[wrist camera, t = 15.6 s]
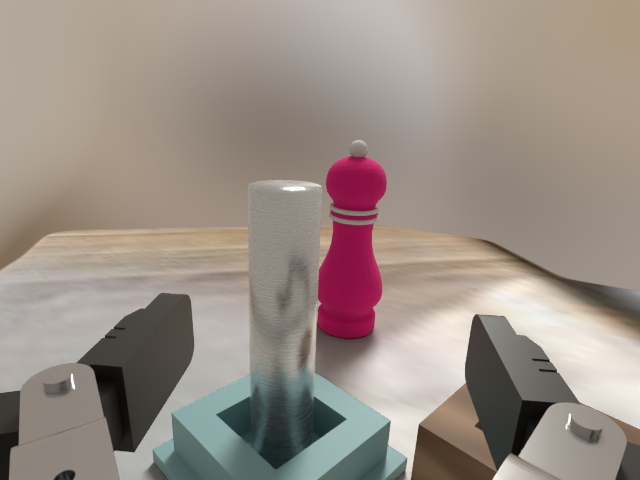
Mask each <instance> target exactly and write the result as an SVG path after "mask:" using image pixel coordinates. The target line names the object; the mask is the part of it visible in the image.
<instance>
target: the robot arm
mask: <svg viewBox="0 0 640 480" xmlns="http://www.w3.org/2000/svg"><path fill="white" fill-rule="evenodd" d="M193 351H194V335H193V322H192V309H191V300H190V297H189V296H188V295H185V294H169V293H161V294H159V295H158V296H157V297H156V298H155V299H154V300H153V301H152V302H151V303H150V304H149V305H148V306H147V307H146V308H145V309H139V310H137V311H135V312H133V313H131V314H129V315H127V316H125V317H124V318H123V319H122V320H121V321H120V322H119V323H118V324H117V325H116V326H115V327H114V329H111V330H110V331H109V332H108V333H107V334H106V335H105V338H102V339H101V340H100V341H99V342H98V343H97V344H96V345H95V346H94V347H93V348H92V349H90V350H89V351H88V352H87V353H86V354H85V355H84V356H83V357H82V358H81V359H80V360H79V361H78V362H77V363H69V364H62V365H58V366H54V367H51V368H48V369H46V370H43V371H41V372H39V373H37V374H36V375H34V376H33V377H31V378H30V379H29V380H28V381H27V382H25V384H24V385H23V386H22V388H21V391H14V392H6V393H0V480H120V478H119V474H118V469H117V465H116V460H115V456H114V451H115V450H116V451H127V452H135V450H136V449H137V447H138V445H139V444H140V442H141V441H142V439H143V438H144V436H145V434H146V433H147V431H148V430H149V428H150V426H151V425H152V423H153V422H154V420H155V418H156V417H157V415H158V414H159V412H160V410H161V409H162V407H163V406H164V404H165V403H166V401H167V399H168V398H169V396H170V395H171V393H172V391H173V390H174V388H175V387H176V385H177V383H178V382H179V380H180V379H181V377H182V375H183V374H184V372H185V371H186V369H187V368H188V366H189V364H190V362H191V359H192V356H193ZM465 379H466V385H467V388H468V391H469V394H470V397H471V400H472V402H473V405H474V408H475V411H476V414H477V416H478V419H479V422H480V425H481V428H482V431H483V433H484V436H485V439H486V442H487V445H488V447H489V450H490V453H491V456H492V459H493V461H494V464H495V467H496V470H497V473H496V475H495V476H494V478H493V479H492V480H640V446H639V445H636V444H633V443H630V442H628V441H627V439H626V436H625V434H624V432H623V431H622V429H621V428H620V427H619V426H618V425H617V424H616V423H615V422H614V421H613V420H612V419H610V418H609V417H607V416H606V415H604V414H602V413H601V412H599V411H597V410H594V409H592V408H589V407H587V406H584V405H581V404H580V403H579V401H578V400H577V398H576V397H575V395H574V394H573V393H572V391H571V390H570V388H569V387H568V385H567V384H566V383H565V381H564V380H563V378H562V377H561V375H560V374H559V373H557V370H556V368H555V367H554V365H553V364H552V363H551V362H550V361H549V358H548V357H547V355H546V354H545V353H544V351H543V350H542V348H541V347H540V346H539V345H537V344H536V343H534V342H533V341H532V340H530V339H529V338H528V337H526V336H522V335H516V333H515V331H514V330H513V328H512V327H511V325H510V324H509V322H508V320H507V319H506V318H505V317H504V316H493V315H478V314H476V315H475V316H474V318H473V321H472V326H471V332H470V338H469V345H468V351H467V357H466V364H465Z"/></svg>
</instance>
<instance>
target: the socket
mask: <svg viewBox="0 0 640 480" xmlns="http://www.w3.org/2000/svg"><path fill="white" fill-rule="evenodd" d="M390 422H391V420H389V419H387V418H386V417H384V416H383V415H381V414H380V413H378V412H376V411H375V410H373V409H372V408H370V407H369V406H367V405H365V404H364V403H362V402H361V401H359V400H358V399H356V398H354V397H353V396H351V395H350V394H348V393H347V392H345V391H344V390H342V389H340V388H339V387H337V386H336V385H334V384H333V383H331V382H329V381H328V380H326V379H325V378H323V377H322V376H320V375H318V374H317V373H315V382H314V408H313V434H312V445H310V446H309V447H308V448H306V449H305V450H303V451H302V452H301V453H299V454H298V455H296V456H295V457H294V458H292V459H291V460H289V461H288V462H287V463H285V464H284V465H282V466H281V467H280V468H278V469H277V470H275V469H274V468H273V467H272V466H271V465H270V464H269V463H268V462H267V461H266V460H264V459H263V458H262V457H261V456H260V455H259V454H258V453H257V452H256V451H255V450H254V449H253V448H251V404H250V375H248V376H246V377H244V378H242V379H239V380H237V381H235V382H233V383H231V384H229V385H227V386H225V387H223V388H221V389H219V390H217V391H215V392H213V393H211V394H209V395H207V396H205V397H203V398H201V399H199V400H197V401H195V402H193V403H191V404H189V405H187V406H185V407H183V408H181V409H179V410H177V411H175V412H172V426H173V439H172V440H170V441H168V442H166V443H164V444H162V445H160V446H159V447H157V448H155V449H153V459H154V463H155V464H156V465H157V466H158V468H159V469H160V470H161V471H162V473H163V474H164V475H165V476H166V478H167V479H168V480H396V479H397V478H398V477H399V476H400V475H401V474H402V473H403V472H404V471H405V470H406V463H407V458H406V457H405V456H404V455H402V454H401V453H399V452H398V451H396V450H395V449H393V448H392V447H390V446H389V445H388V439H389V431H390Z"/></svg>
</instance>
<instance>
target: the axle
mask: <svg viewBox="0 0 640 480" xmlns="http://www.w3.org/2000/svg"><path fill="white" fill-rule="evenodd" d="M321 199H322V187H321V186H320V185H318V184H315V183H310V182H304V181H293V180H268V181H259V182H254V183H251V184H249V185H248V236H249V320H250V404H251V448H253V449H254V450H255V451H256V452H257V453H258V454H259V455H260V456H261V457H262V458H263V459H264V460H266V461H267V462H268V463H269V464H270V465H271V466H272V467H273V468H274V469H275V470H277V469H278V468H280V467H281V466H282V465H284V464H285V463H287V462H288V461H289V460H291V459H292V458H294V457H295V456H296V455H298V454H299V453H301V452H302V451H303V450H305V449H306V448H308V447H309V446H310V445H312V434H313V408H314V382H315V356H316V330H317V304H318V278H319V252H320V226H321Z"/></svg>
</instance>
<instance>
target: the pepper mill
mask: <svg viewBox="0 0 640 480" xmlns="http://www.w3.org/2000/svg"><path fill="white" fill-rule="evenodd" d="M367 152H368V147H367V145H366V144H365V142H363V141H361V140H357V141H354V142H353V143H352V144H351V146H350V154H351V155H352V156H350V157H345V158H342V159H340V160H338V161H337V162H335V163H334V164H333V165H332V166H331V168H330V170H329V172H328V174H327V179H326V187H327V192H328V193H329V195H330V197H331V198H332V199H333V203H332V204H331V205H330V209H331V211H330V214H329V217H330V218H331V219H332V220H333V236H332V242H331V245H330V249H329V251H328V253H327V256H326V258H325V260H324V261H323V263H322V265H321V267H320V269H319V278H318V300H319V301H320V302H321V303H322V304H321V305H320V306H319V308H318V325H319V327H320V328H321V329H322V330H323V331H324V332H326V333H328V334H330V335H332V336H336V337H340V338H359V337H363V336H366V335H367V334H369V333H370V332H371V331H372V330H373V328H374V321H375V311H374V309H373V307H374V306H375V305H376V304H377V303H378V302H379V300H380V298H381V295H382V281H381V276H380V272H379V269H378V266H377V263H376V261H375V258H374V254H373V248H372V229H373V224H374V223H375V222H377V221H378V216H377V215H378V212H379V208H378V207H377V206H376V203H377V202H378V201H379V200H380V199H381V198H382V197H383V195H384V193H385V191H386V175H385V172H384V170H383V168H382V167H381V166H380V165H379V164H378V163H377V162H376V161H374V160H372V159H370V158H366V157H365V156H366V154H367Z"/></svg>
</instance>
